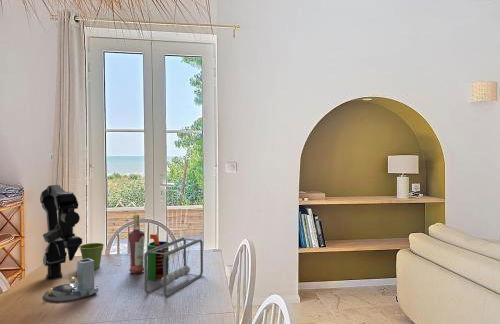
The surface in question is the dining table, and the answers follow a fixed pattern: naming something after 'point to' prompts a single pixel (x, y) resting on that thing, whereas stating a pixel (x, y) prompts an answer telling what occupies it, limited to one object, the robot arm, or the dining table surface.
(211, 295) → the dining table surface
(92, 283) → the square pipe section
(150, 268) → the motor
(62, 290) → the disc
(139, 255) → the liquor
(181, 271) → the newton's cradle
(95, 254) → the plant pot
